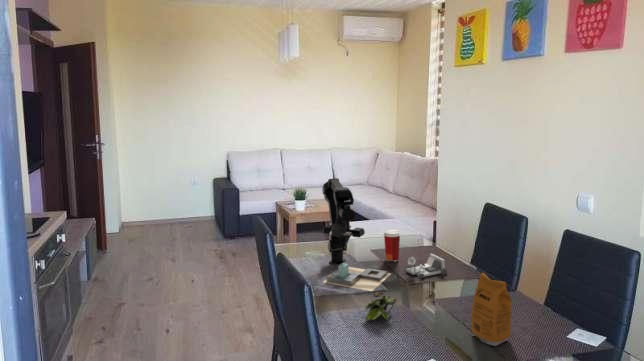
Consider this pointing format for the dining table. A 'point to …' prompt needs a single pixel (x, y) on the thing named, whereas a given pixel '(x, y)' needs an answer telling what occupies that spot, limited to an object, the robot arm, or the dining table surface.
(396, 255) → the coffee cup
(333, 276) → the port block
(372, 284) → the patch board
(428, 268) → the toy car
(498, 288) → the coffee package
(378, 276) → the gray square frame
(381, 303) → the green leafy plant
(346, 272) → the plug
